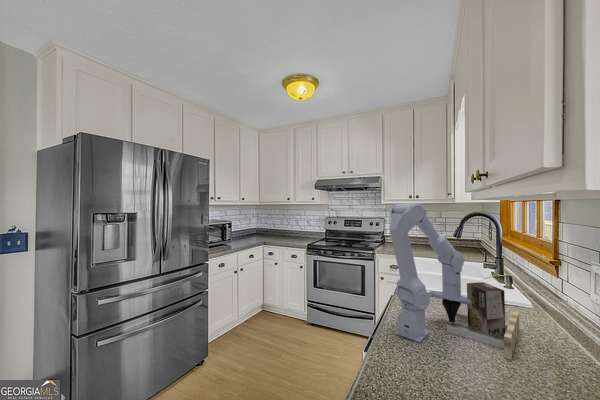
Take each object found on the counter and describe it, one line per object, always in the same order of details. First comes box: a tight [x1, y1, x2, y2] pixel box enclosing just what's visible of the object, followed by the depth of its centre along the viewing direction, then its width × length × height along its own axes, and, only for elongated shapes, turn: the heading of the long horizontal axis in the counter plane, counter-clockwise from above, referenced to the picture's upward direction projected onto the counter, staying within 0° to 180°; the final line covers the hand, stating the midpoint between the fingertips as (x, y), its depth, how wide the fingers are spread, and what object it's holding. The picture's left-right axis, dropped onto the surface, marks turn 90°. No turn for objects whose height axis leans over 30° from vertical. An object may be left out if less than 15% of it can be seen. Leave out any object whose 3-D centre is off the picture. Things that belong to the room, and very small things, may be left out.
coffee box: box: [466, 281, 506, 339], centre depth 85 cm, size 9×6×16 cm
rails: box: [446, 312, 508, 350], centre depth 86 cm, size 13×16×2 cm
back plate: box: [503, 310, 520, 361], centre depth 80 cm, size 24×2×6 cm, turn 135°
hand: (452, 321), depth 92 cm, fingers closed
